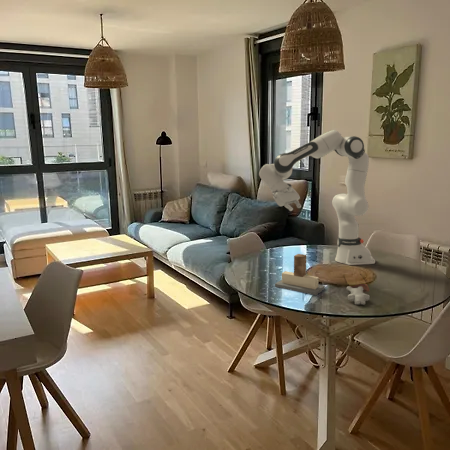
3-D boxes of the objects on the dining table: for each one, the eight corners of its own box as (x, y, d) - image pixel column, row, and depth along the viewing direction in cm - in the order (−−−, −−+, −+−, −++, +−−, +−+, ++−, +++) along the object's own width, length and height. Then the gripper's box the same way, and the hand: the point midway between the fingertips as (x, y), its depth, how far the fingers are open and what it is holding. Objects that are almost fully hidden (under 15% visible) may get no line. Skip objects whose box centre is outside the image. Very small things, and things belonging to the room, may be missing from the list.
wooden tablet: (371, 290, 210) (350, 287, 211) (370, 295, 211) (349, 292, 212) (362, 273, 236) (343, 270, 237) (361, 277, 236) (342, 274, 237)
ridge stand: (275, 286, 221) (275, 274, 219) (284, 280, 229) (284, 268, 227) (316, 295, 208) (316, 282, 207) (324, 288, 216) (325, 276, 215)
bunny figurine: (350, 297, 194) (344, 282, 208) (349, 308, 196) (343, 292, 210) (372, 298, 193) (365, 282, 207) (371, 308, 195) (364, 292, 209)
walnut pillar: (293, 275, 217) (294, 255, 215) (297, 273, 220) (298, 253, 218) (302, 277, 214) (302, 257, 212) (306, 274, 218) (306, 255, 216)
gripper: (274, 188, 233) (290, 208, 229) (292, 183, 249) (308, 202, 245) (267, 195, 236) (283, 215, 233) (285, 191, 252) (300, 209, 249)
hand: (296, 208), depth 239 cm, fingers open, 8 cm apart
